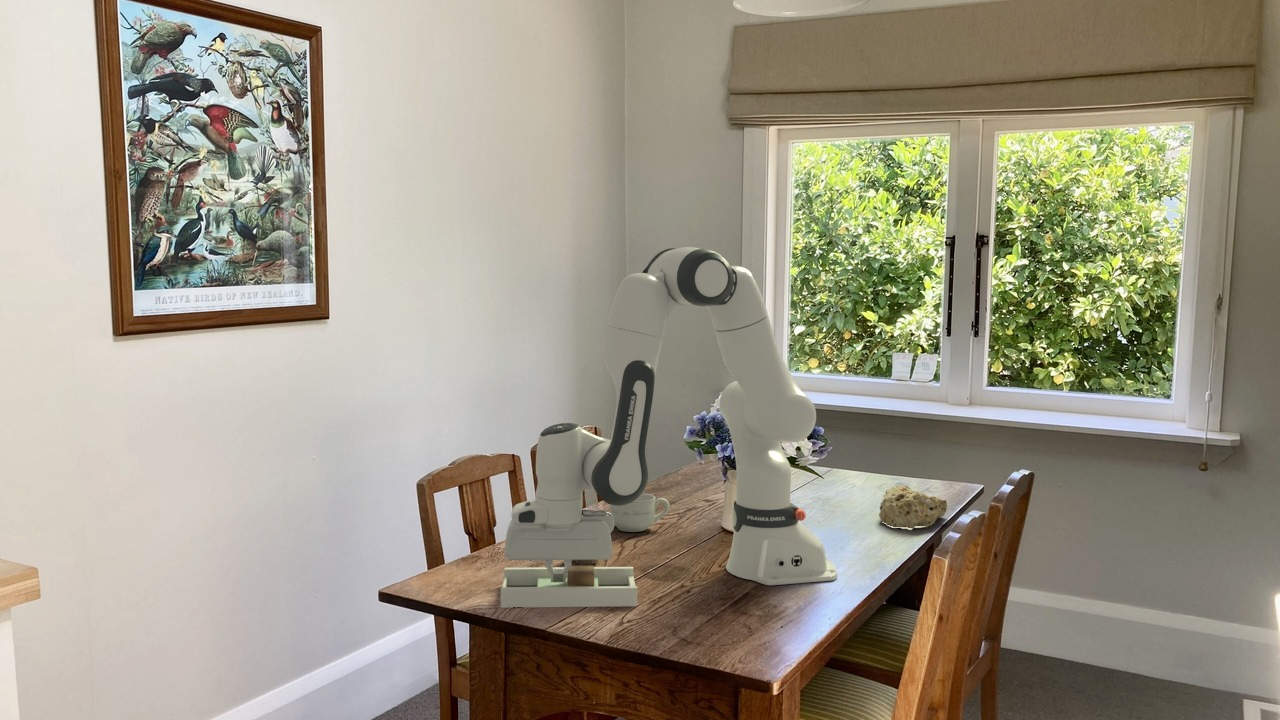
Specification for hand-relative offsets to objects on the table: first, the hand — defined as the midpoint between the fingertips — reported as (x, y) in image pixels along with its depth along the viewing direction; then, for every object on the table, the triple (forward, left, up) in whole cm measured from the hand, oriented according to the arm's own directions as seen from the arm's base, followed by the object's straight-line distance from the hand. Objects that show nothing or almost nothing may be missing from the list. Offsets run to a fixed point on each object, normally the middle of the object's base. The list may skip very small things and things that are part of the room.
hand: (558, 581), depth 184 cm
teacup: (-19, -44, -3) cm, 47 cm away
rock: (-87, -50, -3) cm, 100 cm away
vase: (-6, -20, -3) cm, 21 cm away
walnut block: (-4, 0, -1) cm, 4 cm away
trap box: (-2, 0, -3) cm, 4 cm away
